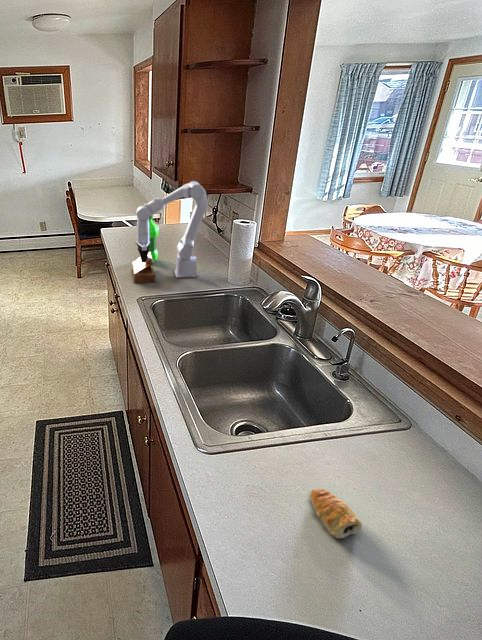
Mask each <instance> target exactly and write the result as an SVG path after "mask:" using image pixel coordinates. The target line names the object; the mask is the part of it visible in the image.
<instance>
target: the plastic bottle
mask: <svg viewBox="0 0 482 640" xmlns="http://www.w3.org/2000/svg"><path fill="white" fill-rule="evenodd" d="M153 219H154V215H152V216H150V217H149V241H150V243H149V245H148V247H147V248H150V252H151V256H152V259H153V262H155V260H157V259H158V257H159V251H158V249H157V244H158V243H157V241H158V240H157V238H158V236H159V234H160V228H159V225H158V224H157V223H155V222H154V221H153Z"/></svg>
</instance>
